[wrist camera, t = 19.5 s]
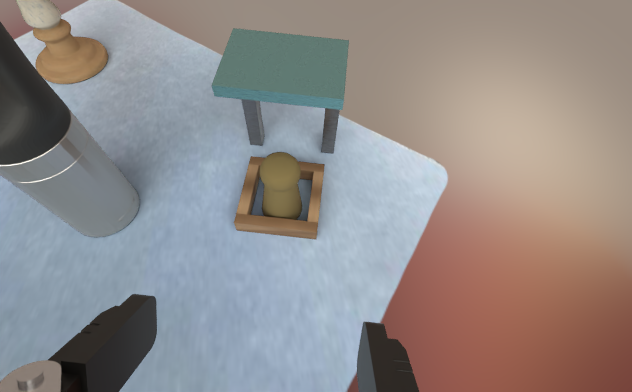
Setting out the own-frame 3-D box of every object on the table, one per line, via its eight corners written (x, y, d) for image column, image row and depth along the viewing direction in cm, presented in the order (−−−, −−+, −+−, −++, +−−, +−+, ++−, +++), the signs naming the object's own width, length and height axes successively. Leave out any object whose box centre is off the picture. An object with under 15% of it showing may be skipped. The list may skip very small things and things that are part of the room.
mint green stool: (329, 194, 52) (343, 99, 35) (240, 184, 52) (211, 85, 35) (334, 144, 57) (348, 40, 40) (252, 135, 57) (233, 28, 40)
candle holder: (122, 54, 66) (59, -67, 48) (75, 93, 60) (-16, -28, 43) (74, 36, 68) (-3, -86, 51) (24, 71, 62) (-83, -52, 45)
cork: (267, 186, 52) (262, 140, 42) (305, 193, 51) (308, 149, 42) (257, 220, 49) (248, 179, 39) (297, 228, 48) (299, 188, 39)
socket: (316, 239, 48) (316, 232, 45) (236, 230, 48) (234, 222, 46) (323, 173, 53) (324, 164, 51) (252, 165, 54) (250, 156, 51)
